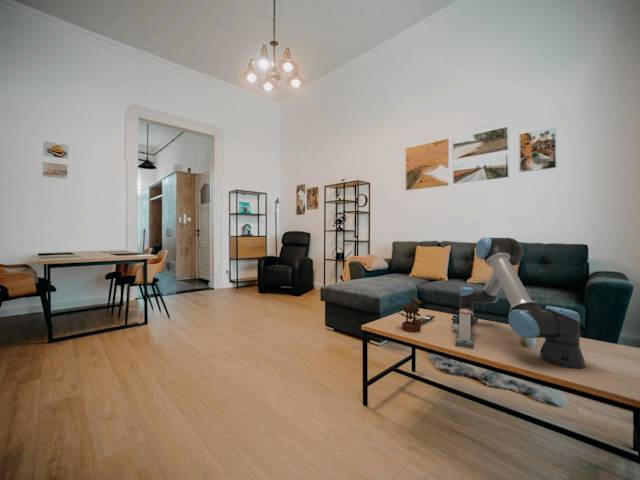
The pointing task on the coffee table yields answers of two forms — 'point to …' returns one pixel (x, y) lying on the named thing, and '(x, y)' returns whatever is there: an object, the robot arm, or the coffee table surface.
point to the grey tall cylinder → (464, 324)
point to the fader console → (465, 342)
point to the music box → (410, 308)
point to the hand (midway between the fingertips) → (464, 326)
